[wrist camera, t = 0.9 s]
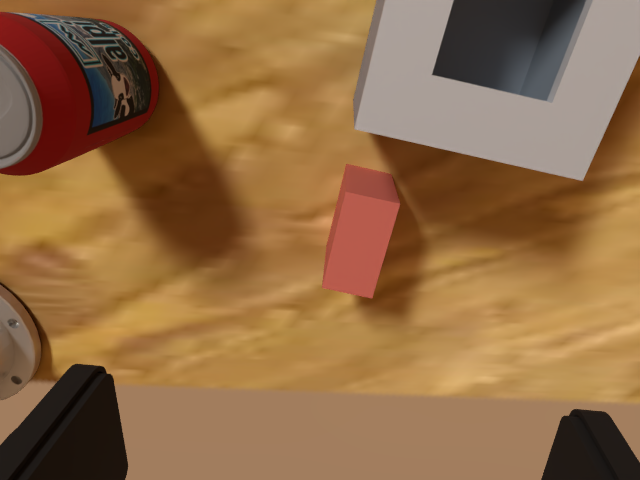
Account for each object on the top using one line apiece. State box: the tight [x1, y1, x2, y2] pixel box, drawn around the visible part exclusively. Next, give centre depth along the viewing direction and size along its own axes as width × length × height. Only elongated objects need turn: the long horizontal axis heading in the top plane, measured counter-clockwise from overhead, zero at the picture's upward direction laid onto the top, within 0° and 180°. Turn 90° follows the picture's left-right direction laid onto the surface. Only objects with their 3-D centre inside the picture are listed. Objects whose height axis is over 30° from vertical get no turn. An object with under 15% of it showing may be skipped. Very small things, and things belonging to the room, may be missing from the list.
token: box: [322, 164, 400, 298], centre depth 29 cm, size 6×3×6 cm, turn 168°
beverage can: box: [0, 12, 159, 176], centre depth 24 cm, size 7×7×12 cm
